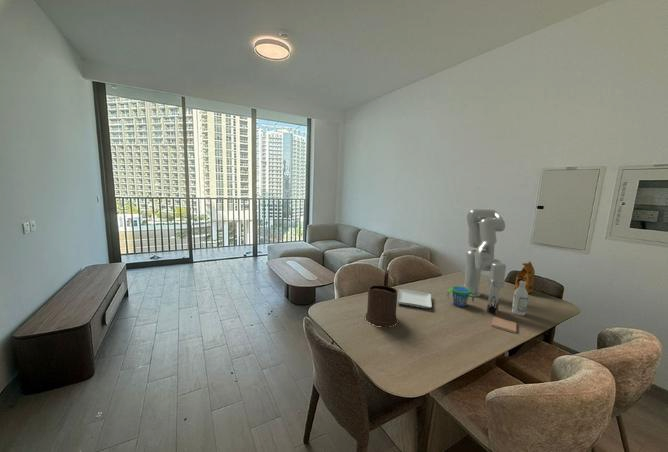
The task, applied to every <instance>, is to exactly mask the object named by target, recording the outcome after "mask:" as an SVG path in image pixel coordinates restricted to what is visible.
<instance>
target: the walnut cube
mask: <svg viewBox="0 0 668 452" xmlns="http://www.w3.org/2000/svg"><path fill="white" fill-rule="evenodd" d="M490 303H491V302H488V301H487V306H486V313H487V314H491V315H494V316H498V313H499V312H498V311H499V306H500V305H499V304H500V303H499V302H498V303H497V304H496V312H495V314H492V313H489V307H490Z"/></svg>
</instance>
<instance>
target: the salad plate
mask: <svg viewBox="0 0 668 452" xmlns="http://www.w3.org/2000/svg"><path fill="white" fill-rule="evenodd" d="M397 304H399V305H404V306H408V305H409V307H414V306H415V308H420V307H421V309H431V308H432V307H433V305H432V304H433V303H432V294H431V293H429V292H423V291H417V290H411V289H405V288H404V289H403V288H398V292H397Z"/></svg>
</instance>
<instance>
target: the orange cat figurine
mask: <svg viewBox="0 0 668 452" xmlns="http://www.w3.org/2000/svg"><path fill="white" fill-rule="evenodd" d="M522 266H523V267H522V268H521V270H519V272H518V273H517V275H516V277H515V285H514V291H515V290H516V289H517V288H518V287H519V284H520V281H524V282H526V286H525V289H526V290H527V292H528V294H531V293H532V292H533V288H534V283H535V275H536V273H535V267H534V266H533V263H532V262H531V261H527V263H525V262H524V263H522Z"/></svg>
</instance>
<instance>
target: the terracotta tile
mask: <svg viewBox="0 0 668 452" xmlns="http://www.w3.org/2000/svg"><path fill="white" fill-rule="evenodd" d="M492 327H493V328H496V329H499V330H502V331H506V332H509V333H513V334H517V321H512V320H509V319H508V320H507V319H504V318H500V317H497V316H493V317H492V320H491V328H492Z"/></svg>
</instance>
